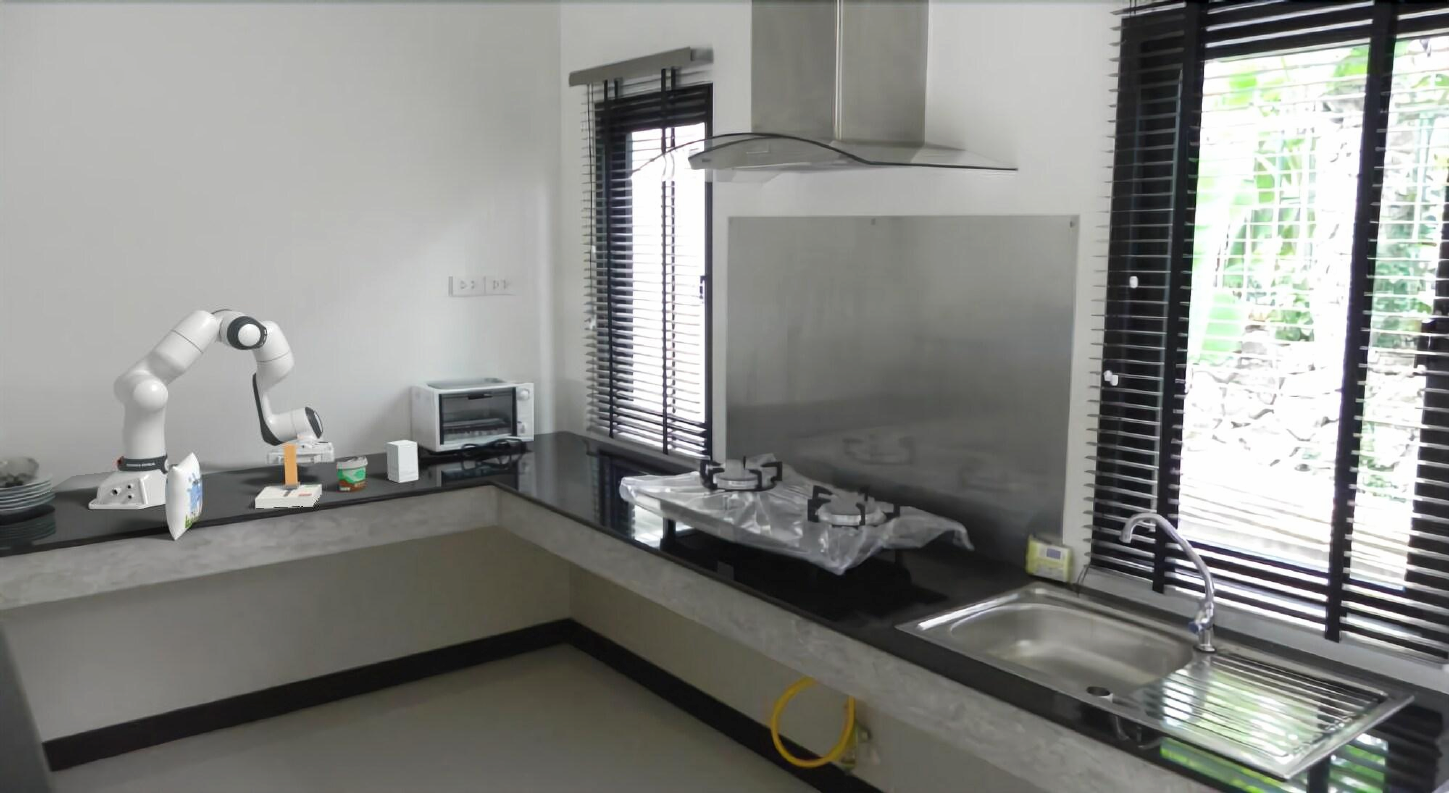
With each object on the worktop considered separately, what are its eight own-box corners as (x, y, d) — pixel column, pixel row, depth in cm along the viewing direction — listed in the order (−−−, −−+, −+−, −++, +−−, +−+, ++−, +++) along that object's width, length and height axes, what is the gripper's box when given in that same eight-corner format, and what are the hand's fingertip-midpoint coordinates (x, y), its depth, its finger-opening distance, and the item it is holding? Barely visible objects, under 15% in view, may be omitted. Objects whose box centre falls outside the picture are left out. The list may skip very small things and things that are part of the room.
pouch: (157, 541, 278) (152, 466, 275) (182, 522, 296) (178, 452, 293) (190, 540, 279) (185, 466, 276) (213, 521, 298) (208, 451, 295)
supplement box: (419, 479, 351) (417, 442, 349) (398, 483, 345) (397, 445, 344) (407, 476, 356) (406, 439, 354) (387, 479, 350) (385, 442, 348)
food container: (355, 494, 330) (354, 463, 328) (337, 493, 331) (336, 462, 329) (376, 485, 342) (374, 455, 340) (358, 484, 343) (357, 454, 341)
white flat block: (255, 508, 312) (255, 498, 311) (267, 495, 327) (266, 486, 327) (313, 506, 315) (312, 496, 314) (321, 493, 330) (321, 484, 330)
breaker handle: (283, 488, 322) (281, 446, 320) (286, 485, 327) (284, 443, 325) (297, 488, 323) (295, 446, 321) (300, 484, 328) (298, 443, 326)
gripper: (270, 444, 345) (261, 452, 332) (336, 442, 349) (330, 450, 336) (271, 463, 346) (262, 472, 332) (337, 460, 350) (331, 469, 337)
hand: (297, 461), depth 334 cm, fingers open, 8 cm apart
